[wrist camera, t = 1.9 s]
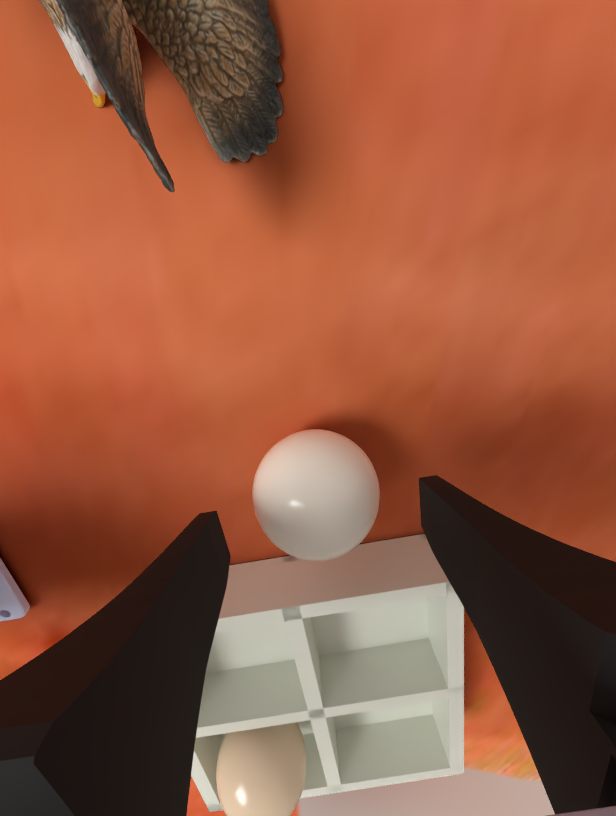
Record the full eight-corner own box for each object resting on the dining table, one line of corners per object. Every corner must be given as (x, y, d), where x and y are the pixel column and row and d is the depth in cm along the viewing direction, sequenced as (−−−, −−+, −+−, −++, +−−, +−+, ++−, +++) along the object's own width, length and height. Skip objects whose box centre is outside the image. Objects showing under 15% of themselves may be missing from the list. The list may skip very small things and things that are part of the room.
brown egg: (236, 737, 22) (220, 861, 17) (216, 689, 20) (193, 812, 15) (311, 726, 22) (316, 847, 17) (298, 676, 20) (299, 796, 15)
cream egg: (270, 513, 16) (261, 603, 12) (248, 421, 15) (227, 483, 10) (369, 497, 16) (401, 581, 12) (359, 403, 15) (390, 456, 10)
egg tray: (220, 746, 23) (209, 811, 20) (147, 578, 17) (118, 634, 15) (442, 712, 22) (463, 773, 20) (435, 531, 17) (463, 579, 14)
